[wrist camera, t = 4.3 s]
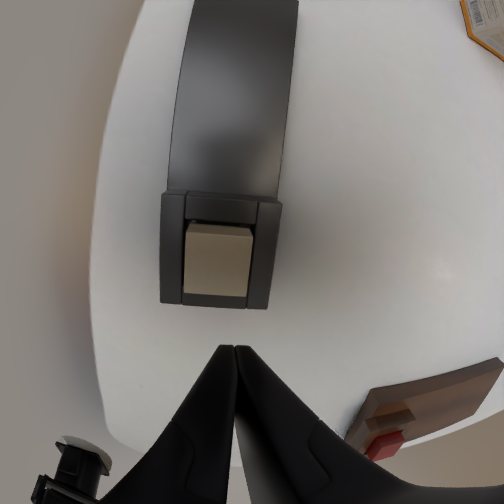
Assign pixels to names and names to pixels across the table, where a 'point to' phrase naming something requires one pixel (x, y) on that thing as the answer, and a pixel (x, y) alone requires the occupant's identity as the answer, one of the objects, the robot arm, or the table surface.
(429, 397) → the walnut key block
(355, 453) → the robot arm
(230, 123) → the black key block
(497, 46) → the supplement box
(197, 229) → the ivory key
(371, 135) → the table surface
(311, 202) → the table surface
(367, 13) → the table surface
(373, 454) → the red key
